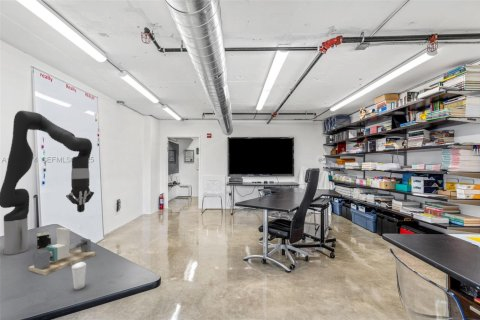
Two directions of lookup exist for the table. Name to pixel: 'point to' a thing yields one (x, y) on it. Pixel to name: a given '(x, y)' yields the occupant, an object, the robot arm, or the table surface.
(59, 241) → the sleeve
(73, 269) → the milkshake
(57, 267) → the pipe stand
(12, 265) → the table surface
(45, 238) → the pneumatic valve
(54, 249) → the thin teal tile
